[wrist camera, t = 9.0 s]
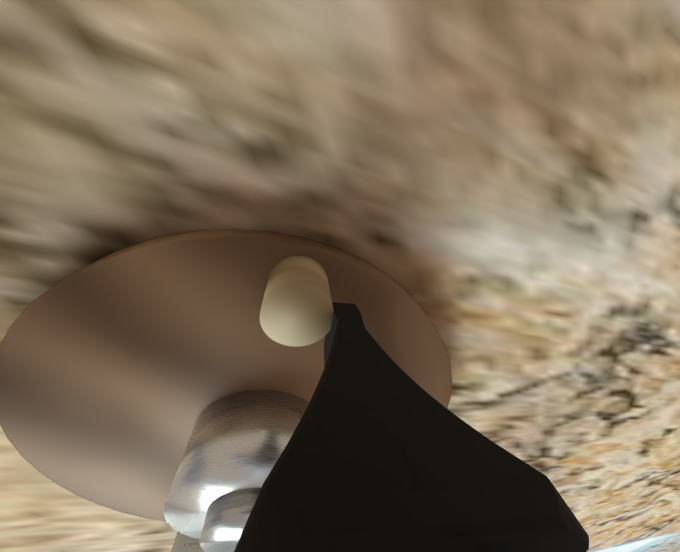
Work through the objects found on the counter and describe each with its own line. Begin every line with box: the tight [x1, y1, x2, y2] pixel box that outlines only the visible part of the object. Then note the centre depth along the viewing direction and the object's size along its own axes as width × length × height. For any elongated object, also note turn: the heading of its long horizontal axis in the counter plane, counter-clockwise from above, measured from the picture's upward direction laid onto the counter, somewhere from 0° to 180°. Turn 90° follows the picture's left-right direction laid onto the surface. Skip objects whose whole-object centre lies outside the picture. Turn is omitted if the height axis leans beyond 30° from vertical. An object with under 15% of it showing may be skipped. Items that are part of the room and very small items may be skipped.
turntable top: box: [0, 229, 452, 522], centre depth 14 cm, size 23×23×4 cm
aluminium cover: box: [163, 390, 309, 552], centre depth 13 cm, size 7×7×4 cm
